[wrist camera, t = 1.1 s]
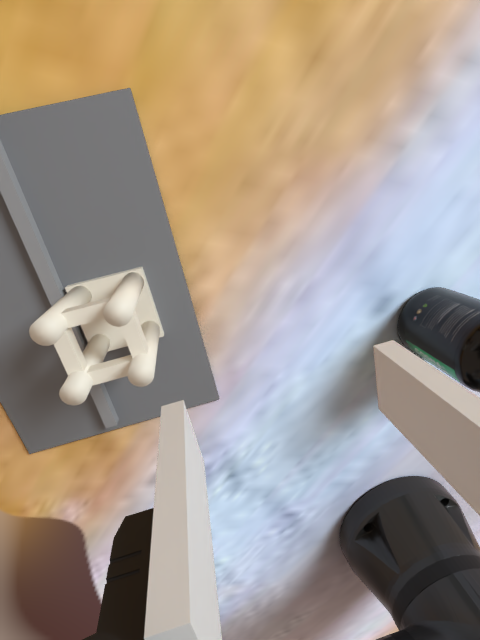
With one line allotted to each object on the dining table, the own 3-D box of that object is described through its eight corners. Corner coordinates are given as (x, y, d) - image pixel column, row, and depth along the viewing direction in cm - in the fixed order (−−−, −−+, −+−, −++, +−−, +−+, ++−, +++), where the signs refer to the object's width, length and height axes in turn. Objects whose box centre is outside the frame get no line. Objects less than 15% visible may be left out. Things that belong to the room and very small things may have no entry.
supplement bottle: (395, 356, 36) (494, 429, 25) (394, 293, 33) (504, 343, 22) (455, 342, 36) (579, 406, 25) (459, 279, 34) (598, 320, 23)
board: (218, 396, 34) (220, 405, 32) (31, 450, 32) (25, 461, 31) (130, 89, 24) (128, 83, 23) (-140, 146, 23) (-159, 143, 22)
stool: (164, 332, 30) (159, 383, 22) (95, 351, 30) (64, 410, 22) (142, 266, 28) (128, 295, 20) (67, 285, 28) (21, 322, 19)
